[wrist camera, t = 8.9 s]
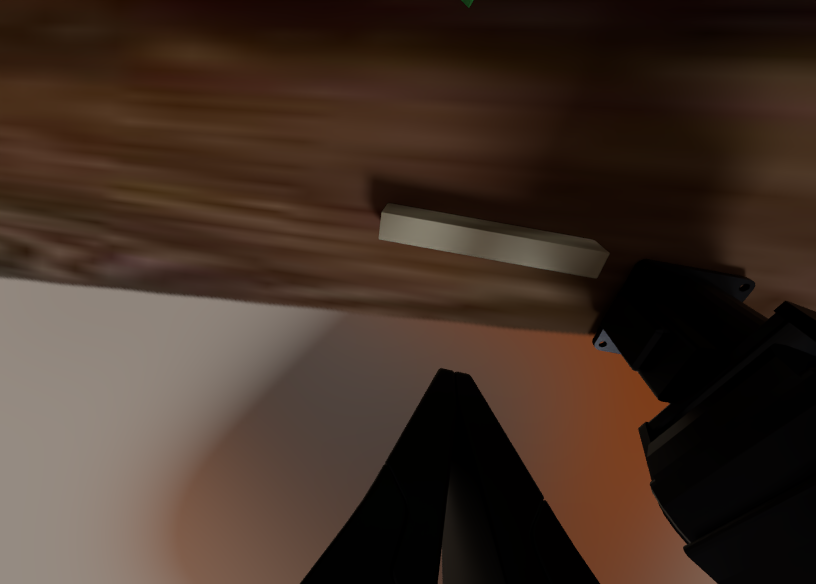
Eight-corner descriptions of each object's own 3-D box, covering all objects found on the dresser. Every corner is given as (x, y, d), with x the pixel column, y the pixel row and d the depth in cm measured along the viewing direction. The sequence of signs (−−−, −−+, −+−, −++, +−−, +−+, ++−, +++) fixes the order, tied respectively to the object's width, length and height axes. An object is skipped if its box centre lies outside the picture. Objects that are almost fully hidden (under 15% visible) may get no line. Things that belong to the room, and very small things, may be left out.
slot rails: (821, -236, 10) (901, -312, 8) (582, 263, 19) (596, 278, 17) (445, -293, 10) (444, -377, 8) (384, 227, 19) (378, 239, 17)
